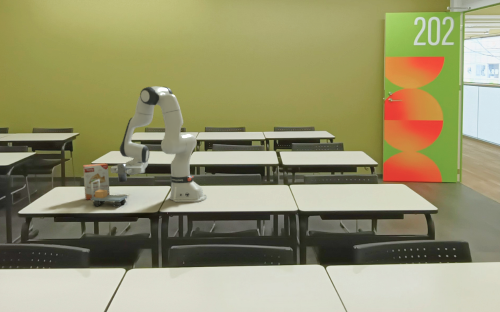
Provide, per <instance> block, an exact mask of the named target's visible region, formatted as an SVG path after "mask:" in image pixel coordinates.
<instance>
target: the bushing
mask: <svg viewBox="0 0 500 312" xmlns="http://www.w3.org/2000/svg"><path fill="white" fill-rule="evenodd" d="M116 166H117V168H118V173H117V179H118V182H120V183H121V182H122V183H123V182H127V179H128V177H127V173H125V170H126V163H117V165H116Z"/></svg>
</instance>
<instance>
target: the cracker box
mask: <svg viewBox="0 0 500 312" xmlns="http://www.w3.org/2000/svg"><path fill="white" fill-rule="evenodd" d="M82 166H83V168H82V169H83V184H84V195H85V196H84V198H85V200H87V201H88V200H91V198H92V191H91V182H93V181H95V180H98V179H99V180H100V190H107V195H111V194H110V181H109V178H110V177H109V165H108V163H105V162H104V163H92V164H83V165H82ZM97 190H98V181H97V182H95V183H93V193H94V197H95V191H97Z"/></svg>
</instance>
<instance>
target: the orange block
mask: <svg viewBox="0 0 500 312" xmlns="http://www.w3.org/2000/svg"><path fill="white" fill-rule="evenodd" d="M106 196H107V190H97V191H95V198H104V197H106Z"/></svg>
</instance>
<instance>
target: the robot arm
mask: <svg viewBox="0 0 500 312" xmlns="http://www.w3.org/2000/svg"><path fill="white" fill-rule="evenodd" d="M155 106H159V107H160V109H161V114H162V117H163V122H164V128H165V129H164V136H163V138H162V140H161V142H160V143H161V144H160V147H161V151H162V152H163V153H165V154H166V155H174V158H173V159H172V160H171V162H170V173H171V175H170V185H171V186H170V187H171V188H170V190H171V191H170V195H169V199H170V200H171V201H173V202H175V203H178V202H179V203H188V202H189V203H191V202H193V203H194V202H195V203H198V202H199V203H200V202H202V201H204V200H206V199H207V198H208V196H207V194H204V190H203V187H202V186H201V185H199V184H198V183H196V182H195V181H194V175H191V174H190V170H191V169H190V163H191V162H190V161H191V157H192V153H193V151H194V149H195V148H196V147H197V144H198V143H197V142H198V141H197V137H196V136H195V135H194V134H192V133H181V129H182V126H183V124H184V118H183V115H182V110H181V107H180V103H179V101H178V98H177V96H176V95H175V94H173V91H172V89H171V88H169V87H167V86H159V85H157V86H156V85H154V86H147V87H146V86H145V87H144V88H142V89H141V90H140V94H139V96H138V98H137V102H136V105H135V110H134V111H135V113H134V114H133V117H130V119H128V122H127V125H126V127H125V132H124V136H123V137H122V138H123V139H122V142H121V144H120V145H119V152H120V154H121V156H122V157H125V158H131V160H128V161H126V162H125V164H126V170H125V173H126V175H127V174H128V175H129V176H133V175H137V174H145V173H146V168H147V167H148V165H149V159H150V149H149V148H148V146H147V145H144V144H141V143H136V142H132V137H133V135H134V131H135V129H137V128H141V127H146V126H149V125H150V124H151V123H152V122H153V117H154V110H155ZM110 173H112V174H118V168H117V165H113V166H111V167H110Z"/></svg>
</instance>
